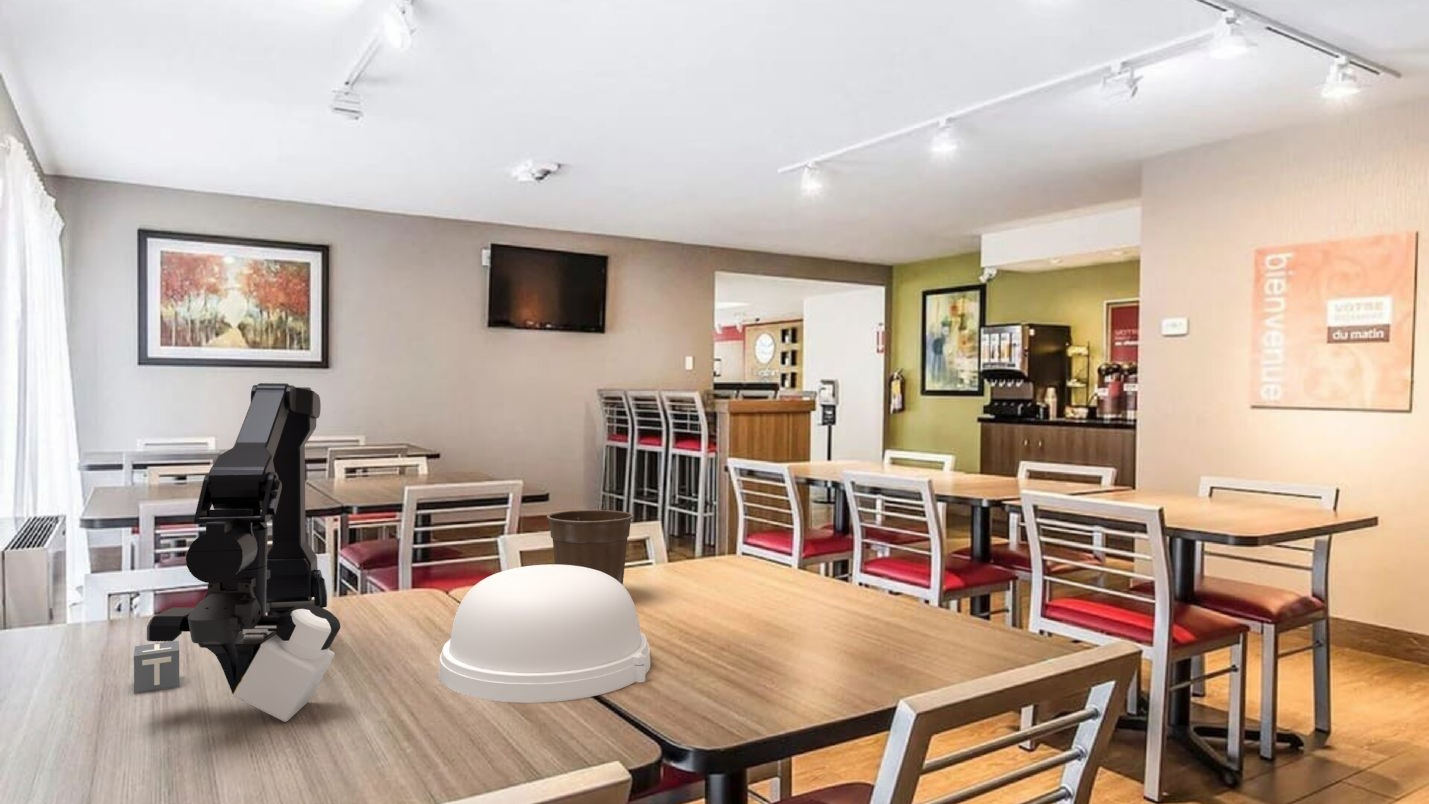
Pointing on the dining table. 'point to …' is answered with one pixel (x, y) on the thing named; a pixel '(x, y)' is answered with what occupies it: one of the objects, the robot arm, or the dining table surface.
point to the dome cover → (544, 637)
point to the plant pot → (591, 539)
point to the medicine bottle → (290, 664)
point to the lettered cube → (156, 667)
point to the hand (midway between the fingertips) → (237, 694)
